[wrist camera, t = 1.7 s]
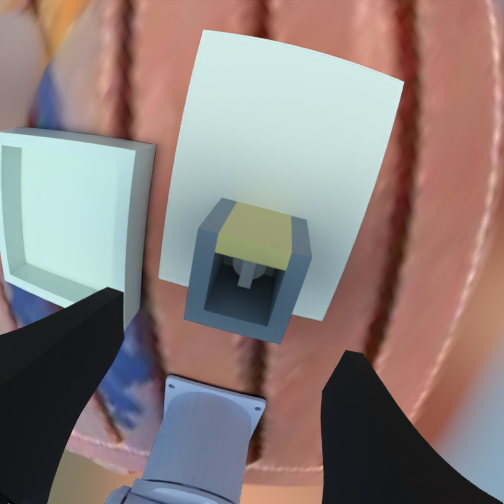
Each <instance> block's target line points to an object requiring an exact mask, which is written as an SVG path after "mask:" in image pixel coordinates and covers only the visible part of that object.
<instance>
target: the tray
mask: <svg viewBox="0 0 504 504" xmlns="http://www.w3.org/2000/svg"><path fill="white" fill-rule="evenodd" d="M156 146H157V145H155V144H149V143H143V142H138V141H132V140H125V139H119V138H113V137H106V136H99V135H92V134H84V133H76V132H68V131H59V130H50V129H40V128H29V127H19V128H13V129H8V130H4V131H0V252H1V259H2V265H3V271H4V277H5V280H6V281H8V282H10V283H12V284H14V285H16V286H18V287H20V288H22V289H24V290H26V291H28V292H31V293H33V294H35V295H37V296H39V297H41V298H44V299H46V300H48V301H51V302H53V303H55V304H57V305H60V306H62V307H64V308H66V307H68V306H70V305H72V304H74V303H76V302H78V301H80V300H82V299H84V298H86V297H88V296H89V295H91V294H93V293H95V292H97V291H99V290H102V289H104V288H106V287H110V288H113V289H116V290H119V291H122V292H124V331H125V329H126V328H127V326H128V325H129V323H130V322H131V320H132V319H133V318H134V316H135V315H136V313H137V312H138V310H139V309H140V296H141V278H142V263H143V250H144V239H145V229H146V219H147V210H148V202H149V194H150V186H151V179H152V172H153V165H154V158H155V152H156Z"/></svg>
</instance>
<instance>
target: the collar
mask: <svg viewBox="0 0 504 504" xmlns="http://www.w3.org/2000/svg"><path fill="white" fill-rule="evenodd" d="M225 255H227V256H231V257H235V258H239V259H242V260H246V261H250V262H254V263H258V264H262V265H266V266H269V267H273V268H275V272H274V275H273V276H269V275H265V274H263V275H261V276H260V277H258V278H255V279H252V283H251V286H250V289H249V288H245V287H241V286H237V285H238V281H239V277H240V275H238V274H237V273H236V271H235V270H234V267H233V266H231V265H227V264H223V262H224V258H225ZM311 260H312V253H311V246H310V239H309V233H308V226H307V220H306V219H302V218H298V217H295V216H291V215H287V214H283V213H280V212H276V211H272V210H268V209H265V208H261V207H257V206H253V205H249V204H245V203H241V202H237V201H233V200H229V199H225V198H221V199H220V201H219V202H218V203H217V204H216V206H215V207H214V208H213V209H212V211H211V212H210V213H209V215H208V216H207V217H206V218H205V220H204V221H203V222H202V224H201V225H200V226H199V228H198V232H197V237H196V243H195V249H194V255H193V261H192V267H191V273H190V280H189V286H188V293H187V300H186V307H185V314H184V319H185V320H188V321H192V322H195V323H199V324H202V325H206V326H209V327H213V328H217V329H220V330H224V331H228V332H232V333H235V334H239V335H243V336H247V337H251V338H255V339H259V340H264V341H268V342H272V343H276V344H281V341H282V339H283V336H284V333H285V331H286V328H287V326H288V323H289V320H290V318H291V315H292V312H293V310H294V307H295V304H296V302H297V299H298V296H299V294H300V291H301V288H302V285H303V283H304V280H305V277H306V274H307V271H308V268H309V266H310V263H311Z"/></svg>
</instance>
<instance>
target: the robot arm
mask: <svg viewBox="0 0 504 504" xmlns="http://www.w3.org/2000/svg"><path fill="white" fill-rule="evenodd" d="M123 341H124V292H122V291H119V290H116V289H113V288H110V287H106V288H104V289H102V290H99V291H97V292H95V293H93V294H91V295H89V296H88V297H86V298H84V299H82V300H80V301H78V302H76V303H74V304H72V305H70V306H68V307H66V308H64V309H62V310H60V311H58V312H56V313H54V314H52V315H49V316H47V317H45V318H43V319H41V320H38V321H36V322H34V323H32V324H30V325H27V326H25V327H22V328H19V329H17V330H14V331H11V332H8V333H5V334H2V335H0V504H8V503H9V504H47V502H48V498H49V494H50V490H51V486H52V483H53V480H54V477H55V474H56V471H57V468H58V465H59V462H60V459H61V457H62V454H63V451H64V449H65V447H66V444H67V442H68V439H69V437H70V435H71V433H72V430H73V428H74V426H75V424H76V422H77V420H78V418H79V416H80V414H81V412H82V411H83V409H84V407H85V406H86V404H87V403H88V401H89V400H90V398H91V396H92V395H93V393H94V392H95V390H96V389H97V387H98V385H99V384H100V382H101V381H102V379H103V378H104V376H105V375H106V373H107V372H108V370H109V368H110V367H111V365H112V364H113V362H114V360H115V358H116V356H117V354H118V352H119V349H120V347H121V345H122V343H123ZM265 407H266V401H265V400H264V399H261V398H257V397H252V396H248V395H244V394H239V393H235V392H231V391H227V390H223V389H219V388H215V387H212V386H208V385H204V384H201V383H197V382H194V381H190V380H187V379H183V378H180V377H177V376H173V375H169V376H168V377H167V379H166V388H165V403H164V419H163V422H162V424H161V427H160V429H159V432H158V435H157V437H156V440H155V443H154V445H153V448H152V451H151V453H150V456H149V459H148V461H147V464H146V467H145V469H144V472H143V475H142V477H141V479H139V478H135V480H134V483H133V486H132V488H131V487H129V486H122V487H120V488H118V489H116V490H114V491H112V492H111V494H110V495H109V496H108V498H107V500H106V502H105V504H239V502H240V496H241V490H242V484H243V477H244V471H245V464H246V458H247V451H248V445H249V440H250V438H251V436H252V434H253V432H254V430H255V428H256V426H257V424H258V421H259V419H260V417H261V415H262V413H263V411H264V409H265ZM321 435H322V452H323V471H324V486H323V498H322V504H503V503H502V502H501V501H499V500H497V499H496V498H494V497H492V496H491V495H489V494H487V493H486V492H484V491H482V490H481V489H479V488H478V487H477V486H475V485H474V484H472V483H471V482H470V481H468V480H467V479H466V478H464V477H463V476H462V475H461V474H460V473H458V472H457V471H456V470H455V469H454V468H453V467H451V466H450V465H449V464H448V463H447V462H446V461H445V460H444V459H443V458H442V457H441V456H439V454H437V452H436V451H435V450H434V449H433V448H432V447H431V446H430V445H429V444H428V442H427V441H426V440H425V439H424V438H423V437H422V436H421V435H420V433H418V431H417V430H416V429H415V427H414V426H413V425H412V423H411V422H410V421H409V419H408V418H407V417H406V416H405V414H404V413H403V412H402V410H401V409H400V407H399V406H398V405H397V403H396V402H395V400H394V399H393V397H392V396H391V394H390V393H389V391H388V390H387V388H386V387H385V385H384V384H383V382H382V381H381V379H380V378H379V376H378V375H377V373H376V372H375V370H374V369H373V367H372V366H371V364H370V363H369V361H368V360H367V359H366V357H365V356H364V354H363V353H359V352H353V351H348V350H345V352H344V354H343V356H342V357H341V359H340V361H339V363H338V365H337V366H336V368H335V370H334V372H333V373H332V375H331V377H330V379H329V380H328V382H327V384H326V385H325V387H324V389H323V390H322V401H321Z"/></svg>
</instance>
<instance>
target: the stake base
mask: <svg viewBox="0 0 504 504" xmlns="http://www.w3.org/2000/svg"><path fill="white" fill-rule="evenodd" d="M403 85H404V82H403V81H400V80H398V79H396V78H393V77H391V76H388V75H386V74H383V73H381V72H378V71H375V70H373V69H370V68H367V67H364V66H362V65H359V64H356V63H353V62H350V61H347V60H344V59H341V58H337V57H334V56H331V55H327V54H324V53H321V52H317V51H313V50H310V49H306V48H302V47H298V46H294V45H290V44H285V43H281V42H276V41H272V40H267V39H262V38H256V37H251V36H245V35H239V34H232V33H225V32H218V31H210V30H203V34H202V37H201V41H200V45H199V49H198V52H197V56H196V60H195V64H194V68H193V72H192V77H191V81H190V85H189V90H188V94H187V98H186V103H185V108H184V112H183V117H182V122H181V127H180V132H179V137H178V143H177V148H176V154H175V159H174V165H173V171H172V177H171V183H170V190H169V196H168V203H167V210H166V217H165V225H164V233H163V241H162V249H161V258H160V268H159V279H162V280H165V281H169V282H172V283H176V284H179V285H183V286H186V287H188V286H189V280H190V273H191V267H192V261H193V255H194V249H195V243H196V237H197V232H198V228H199V226H200V225H201V224H202V222H203V221H204V220H205V218H206V217H207V216H208V215H209V213H210V212H211V211H212V209H213V208H214V207H215V206H216V204H217V203H218V202H219V201H220V199H221V198H225V199H229V200H233V201H237V202H241V203H245V204H249V205H253V206H257V207H261V208H265V209H268V210H272V211H276V212H280V213H283V214H287V215H291V216H295V217H298V218H302V219H306V220H307V226H308V233H309V239H310V246H311V253H312V260H311V263H310V266H309V268H308V271H307V274H306V277H305V280H304V283H303V285H302V288H301V291H300V294H299V296H298V299H297V302H296V304H295V307H294V310H293V312H292V314H294V315H298V316H302V317H306V318H310V319H315V320H319V321H322V320H323V318H324V316H325V314H326V311H327V309H328V307H329V304H330V302H331V300H332V297H333V295H334V293H335V290H336V288H337V285H338V283H339V280H340V278H341V276H342V273H343V271H344V268H345V265H346V263H347V260H348V258H349V255H350V253H351V250H352V247H353V245H354V242H355V239H356V237H357V234H358V231H359V229H360V226H361V223H362V220H363V218H364V215H365V212H366V209H367V206H368V203H369V200H370V197H371V195H372V192H373V189H374V186H375V183H376V179H377V176H378V173H379V170H380V167H381V164H382V161H383V157H384V154H385V151H386V147H387V144H388V141H389V137H390V134H391V130H392V127H393V123H394V119H395V116H396V112H397V108H398V105H399V101H400V97H401V93H402V89H403ZM223 264H227V265H231V266H233V267H234V270H235V271H236V273H237V274H238V275H240V277H239V281H238V285H237V286H241V287H245V288H249V289H250V286H251V283H252V279H255V278H258V277H260V276H261V275H263V274H265V275H269V276H273V275H274V272H275V268H273V267H269V266H266V265H262V264H258V263H254V262H250V261H246V260H242V259H239V258H235V257H231V256H227V255H225V258H224V262H223Z"/></svg>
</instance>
